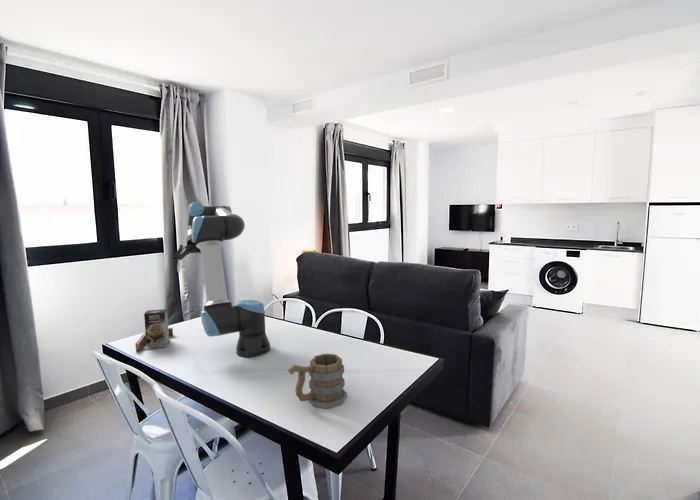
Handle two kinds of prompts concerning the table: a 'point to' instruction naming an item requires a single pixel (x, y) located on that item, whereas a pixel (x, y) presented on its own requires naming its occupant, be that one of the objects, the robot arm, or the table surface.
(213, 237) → the robot arm
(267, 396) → the table surface
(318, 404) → the tankard
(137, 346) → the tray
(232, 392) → the table surface
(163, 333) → the coffee box
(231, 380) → the table surface
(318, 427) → the table surface
